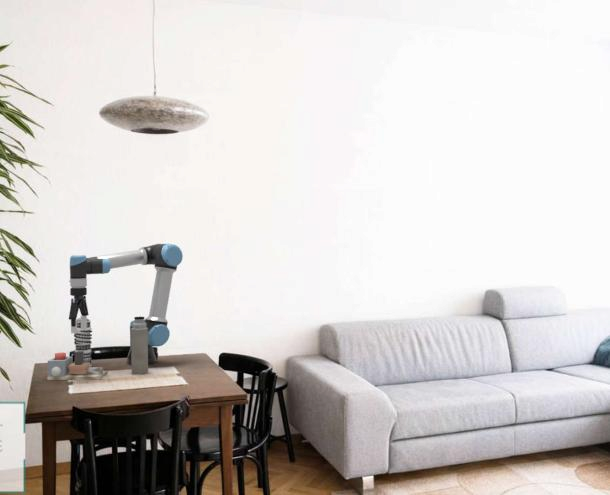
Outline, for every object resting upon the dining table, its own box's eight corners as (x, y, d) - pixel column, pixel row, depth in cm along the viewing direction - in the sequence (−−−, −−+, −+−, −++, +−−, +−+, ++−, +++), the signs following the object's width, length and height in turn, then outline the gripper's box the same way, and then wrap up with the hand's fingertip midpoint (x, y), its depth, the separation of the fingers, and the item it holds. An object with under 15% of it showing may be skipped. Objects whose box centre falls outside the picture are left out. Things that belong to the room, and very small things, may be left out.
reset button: (67, 359, 316) (67, 352, 316) (63, 361, 311) (63, 354, 311) (57, 359, 316) (57, 352, 316) (53, 361, 311) (53, 354, 311)
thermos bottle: (137, 370, 328) (137, 315, 328) (151, 371, 326) (150, 316, 325) (128, 374, 321) (127, 317, 320) (142, 375, 318) (141, 318, 318)
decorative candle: (95, 364, 345) (95, 317, 345) (87, 368, 336) (87, 319, 335) (78, 364, 346) (78, 317, 346) (70, 367, 337) (70, 319, 336)
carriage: (89, 371, 318) (89, 350, 317) (85, 374, 311) (85, 353, 310) (73, 371, 317) (73, 350, 317) (68, 374, 310) (68, 353, 310)
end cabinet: (72, 374, 319) (72, 356, 319) (64, 379, 308) (64, 361, 308) (56, 374, 319) (56, 356, 319) (47, 380, 308) (47, 361, 308)
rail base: (107, 374, 320) (107, 365, 320) (100, 379, 308) (100, 370, 308) (56, 374, 320) (56, 365, 320) (47, 380, 308) (47, 370, 308)
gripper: (79, 285, 326) (80, 327, 326) (61, 289, 301) (61, 335, 301) (94, 285, 326) (95, 327, 326) (77, 289, 301) (78, 335, 301)
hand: (79, 331), depth 314 cm, fingers open, 13 cm apart
